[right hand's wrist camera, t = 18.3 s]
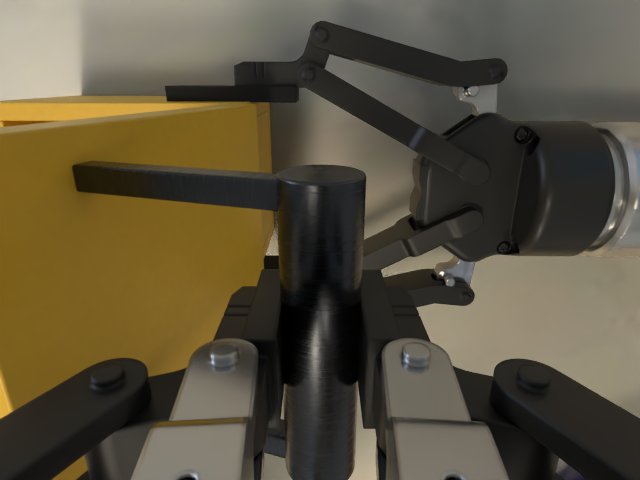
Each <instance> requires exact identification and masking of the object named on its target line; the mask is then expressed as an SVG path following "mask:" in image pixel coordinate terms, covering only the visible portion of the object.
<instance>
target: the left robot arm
mask: <svg viewBox="0 0 640 480" xmlns="http://www.w3.org/2000/svg"><path fill="white" fill-rule="evenodd" d="M329 54H331V55H335V56H338V57H342V58H345V59H349V60H352V61H355V62H359V63H362V64H366V65H369V66H373V67H376V68H380V69H383V70H386V71H390V72H393V73H397V74H400V75H404V76H407V77H411V78H414V79H417V80H421V81H424V82H428V83H431V84H436V85H440V86H453V95H454V97H455V98H456V99H457V100H458V101H462V102H466V103H468V104H469V105H470V106H471V108H472V114H471V115H469V116H468V117H466V118H465V119H463V120H462V121H460V122H459V123H458V124H456V125H455V126H453V127H452V128H450V129H449V130H447V131H446V132H444V133H443V134H441V135H440V136H437V135H436V134H434V133H432V132H431V131H429V130H427V129H425V128H424V127H422V126H420V125H418V124H417V123H415V122H413V121H412V120H410V119H408V118H407V117H405V116H403V115H401V114H400V113H398V112H396V111H395V110H393V109H391V108H390V107H388V106H386V105H384V104H383V103H381V102H379V101H378V100H376V99H374V98H373V97H371V96H369V95H367V94H366V93H364V92H362V91H361V90H359V89H357V88H356V87H354V86H352V85H350V84H349V83H347V82H345V81H344V80H342V79H340V78H339V77H337V76H335V75H333V74H332V73H330V72H328V71H327V70H325V66H326V63H327V60H328V57H329ZM507 71H508V70H507V65H506V63H505V61H503V60H502V59H497V58H494V59H483V60H473V61H462V62H461V61H457V60H454V59H451V58H447V57H444V56H441V55H437V54H434V53H430V52H427V51H424V50H420V49H417V48H414V47H410V46H407V45H403V44H400V43H397V42H393V41H390V40H386V39H383V38H380V37H376V36H373V35H370V34H366V33H363V32H359V31H356V30H353V29H349V28H346V27H343V26H339V25H336V24H332V23H329V22H326V21H320V22H317V23H315V24H314V25H313V26H312V29H311V31H310V36H309V39H308V42H307V45H306V48H305V51H304V53H303V55H302V56H301V57H300V58H299V59H298V60H296V61H294V62H242V63H240V64H237V65H235V66H234V76H235V86H204V85H180V86H165V90H166V99H167V101H174V102H288V103H296V102H297V101H298V100H299V87H305V88H307V89H309V90H311V91H312V92H314V93H316V94H318V95H319V96H321V97H323V98H325V99H326V100H328V101H330V102H331V103H333V104H335V105H337V106H338V107H340V108H342V109H344V110H345V111H347V112H349V113H351V114H352V115H354V116H356V117H358V118H359V119H361V120H363V121H364V122H366V123H368V124H370V125H371V126H373V127H375V128H377V129H378V130H380V131H382V132H384V133H385V134H387V135H389V136H391V137H392V138H394V139H396V140H397V141H399V142H401V143H403V144H404V145H406V146H408V147H409V148H411V149H413V150H414V151H416V152H418V155H417V158H416V159H413V170H412V172H413V178H414V183H415V186H414V189H413V192H412V195H411V198H410V209H409V210H410V212H411V214H410V215H408V216H406V217H404V218H402V219H400V220H398V221H397V222H396V224H395V225H394V226H392V227H390V228H388V229H386V230H384V231H382V232H380V233H378V234H375V235H373V236H371V237H369V238H367V239H365V240H364V242H363V267H362V269H380V270H381V269H383V268H385V267H387V266H390V265H392V264H394V263H396V262H398V261H400V260H402V259H404V258H406V257H410V256H412V257H416V256H419V255H422V254H424V253H426V252H428V251H430V250H432V249H434V248H437V247H439V246H442V247H444V248H445V249H447V250H448V251H449V252H451V253H452V254H453V255H454V257H453V258H452V259H451V260H450V261H448V262H444V263H438V264H437V265H436V267H435V269H421V270H416V271H411V272H407V273H402V274H398V275H393V276H389V277H385V278H383V279H384V282H385V285H386V286H400V287H401V288H402V289H404V290H405V291H406V292H408V293H409V294H410V295H411V297H412V299H413V301H414V304H415V307H420V306H424V305H429V304H433V303H438V304H449V305H460V306H465V305H468V304H470V303H471V302H472V301H473V300H474V297H475V294H474V292H473V290H472V289H471V287H470V282H471V277H472V273H473V269H474V265H475V262H477V261H480V260H482V259H484V258H486V257H489V256H492V255H498V254H501V255H512V256H574V255H578V254H581V255H584V256H588V257H640V122H596V123H593V124H588V123H585V122H579V121H509V120H507V119H505V118H504V117H502V116H501V115H499V114H497V95H498V83H500V82H501V81H503V80H504V78H505V77H506V75H507ZM264 269H279V256H265V258H264Z"/></svg>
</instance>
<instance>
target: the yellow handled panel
mask: <svg viewBox="0 0 640 480" xmlns="http://www.w3.org/2000/svg"><path fill="white" fill-rule="evenodd" d="M365 192H366V175H365V173H364V172H363V171H361V170H358V169H355V168H351V167H346V166H337V165H304V166H296V167H290V168H287V169H284V170H281V171H279V172H278V173H277V174H276V173H261V172H259V153H258V132H257V111H256V105H255V104H224V105H214V106H204V107H194V108H184V109H175V110H165V111H155V112H145V113H135V114H126V115H116V116H106V117H96V118H86V119H77V120H67V121H57V122H47V123H37V124H28V125H18V126H8V127H0V419H1V418H2V417H4V416H6V415H8V414H9V413H11V412H13V411H14V410H16V409H18V408H19V407H21V406H23V405H25V404H26V403H28V402H30V401H31V400H33V399H35V398H37V397H38V396H40V395H42V394H43V393H45V392H47V391H49V390H50V389H52V388H54V387H55V386H57V385H59V384H61V383H62V382H64V381H66V380H67V379H69V378H71V377H73V376H74V375H76V374H78V373H79V372H81V371H83V370H84V369H86V368H88V367H90V366H92V365H94V364H97V363H99V362H102V361H105V360H109V359H115V358H133V359H137V360H139V361H141V362H143V363H144V364H145V365H146V367H147V370H148V376H149V377H150V376H155V375H160V374H165V373H170V372H174V371H178V370H181V369H184V368H186V367H187V366H188V363H189V360H190V357H191V355H192V354H193V353H194V351H195V350H197V349H198V348H199V347H201V346H202V345H204V344H206V343H208V342H211V341H213V339H214V337H215V334H216V332H217V329H218V327H219V324H220V322H221V320H222V317H223V316H224V312H225V310H226V307H227V305H228V302H229V300H230V297H231V295H232V294H233V293H235V292H236V291H237V290H239V289H240V288H241V287H242V286H257V283H258V280H259V277H260V274H261V270H262V269H264V258H263V237H262V216H261V210H270V211H277V218H278V248H279V277H280V300H281V303H282V327H283V356H284V391H283V395H284V420H282V419H280V426H279V428H268V430H267V437H266V442H265V445H264V453H268V454H272V455H275V456H279V457H283V458H286V468H287V471H288V473H289V475H290V477H291V478H292V479H293V480H348V479H349V477H350V476H351V474H352V472H353V470H354V466H355V442H356V417H357V392H358V358H359V332H360V305H361V292H362V267H363V242H364V217H365ZM87 470H88V469H87V465H86V461H85V457H84V456H82V457H81V458H80V459H78V460H77V461H76V462H74V463H73V464H72V465H70V466H69V467H68V468H66V469H65V470H64V471H62V472H61V473H60V474H58V475H57V476H56V477H55V478H53V479H52V480H76V479H77V478H78V477H80V476H81V475H82V474H83V473H85V472H86V471H87Z"/></svg>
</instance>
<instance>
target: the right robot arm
mask: <svg viewBox="0 0 640 480" xmlns="http://www.w3.org/2000/svg"><path fill="white" fill-rule="evenodd" d="M358 387H359V395H360V404H361V412H362V420H363V428H364V429H375V430H376V437H377V443H376V473H377V480H564V479H563V478H562V477H560V476H559V475H558V474H557V473H555V472H556V468H557V464H558V460H559V458H560V459H562V460H563V461H564V462H566V463H567V464H568V465H570V466H571V467H572V468H574V469H575V470H576V471H578V472H579V473H580V474H582V475H583V476H584V477H585V478H587V479H588V480H640V419H639V418H638V417H636V416H634V415H632V414H631V413H629V412H627V411H626V410H624V409H622V408H621V407H619V406H617V405H615V404H614V403H612V402H610V401H609V400H607V399H605V398H603V397H602V396H600V395H598V394H597V393H595V392H593V391H591V390H590V389H588V388H586V387H585V386H583V385H581V384H579V383H578V382H576V381H574V380H573V379H571V378H569V377H568V376H566V375H564V374H562V373H561V372H559V371H557V370H556V369H554V368H552V367H550V366H547V365H545V364H543V363H540V362H536V361H532V360H527V359H509V360H505V361H502V362H500V363H499V364H498V365H497V366H496V367H495V369H494V374H493V377H492V376H487V375H483V374H478V373H473V372H469V371H465V370H462V369H459V368H456V367H454V366H452V363H451V360H450V357H449V355H448V354H447V353H446V351H444V350H443V349H442V348H441V347H439V346H438V345H436V344H434V343H432V342H430V340H429V337H428V335H427V332H426V330H425V328H424V325H423V323H422V320H421V318H420V316H419V313H418V311H417V309H416V308H415V304H414V301H413V299H412V297H411V295H410V294H409V293H408V292H406V291H405V290H404V289H402V288H401V287H400V286H386V285H385V282H384V279H383V276H382V273H381V270H380V269H362V292H361V305H360V332H359V358H358ZM283 391H284V356H283V327H282V303H281V300H280V277H279V269H262V270H261V274H260V277H259V280H258V283H257V286H242V287H241V288H240V289H239V290H237V291H236V292H235V293H233V294H232V295H231V297H230V300H229V302H228V305H227V307H226V310H225V312H224V316H223V317H222V320H221V322H220V324H219V327H218V329H217V332H216V334H215V337H214V339H213V341H211V342H208V343H206V344H204V345H202V346H201V347H199V348H198V349H197V350H195V351H194V353H193V354H192V355H191V357H190V360H189V363H188V366H187V367H186V368H184V369H181V370H178V371H174V372H170V373H165V374H160V375H155V376H150V377H149V376H148V370H147V367H146V365H145V364H144V363H143V362H141V361H139V360H137V359H133V358H115V359H109V360H105V361H102V362H99V363H97V364H94V365H92V366H90V367H88V368H86V369H84V370H83V371H81V372H79V373H78V374H76V375H74V376H73V377H71V378H69V379H67V380H66V381H64V382H62V383H61V384H59V385H57V386H55V387H54V388H52V389H50V390H49V391H47V392H45V393H43V394H42V395H40V396H38V397H37V398H35V399H33V400H31V401H30V402H28V403H26V404H25V405H23V406H21V407H19V408H18V409H16V410H14V411H13V412H11V413H9V414H8V415H6V416H4V417H2V418H1V419H0V480H52V479H53V478H55V477H56V476H57V475H58V474H60V473H61V472H62V471H64V470H65V469H66V468H68V467H69V466H70V465H72V464H73V463H74V462H76V461H77V460H78V459H80V458H81V457H82V456H84V457H85V461H86V465H87V469H88V470H87V471H86V472H85V473H83V474H82V475H81V476H80V477H78V478H77V479H76V480H263V473H264V445H265V442H266V437H267V430H268V428H279V426H280V418H281V409H282V400H283Z"/></svg>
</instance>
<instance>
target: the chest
mask: <svg viewBox="0 0 640 480" xmlns="http://www.w3.org/2000/svg"><path fill="white" fill-rule="evenodd" d="M224 104H255V105H256V111H257V132H258V153H259V172H261V173H272V154H271V128H270V102H174V101H167V99H166V96H67V97H52V98H37V99H22V100H7V101H0V127H8V126H18V125H28V124H37V123H47V122H57V121H67V120H77V119H86V118H96V117H106V116H116V115H126V114H135V113H145V112H155V111H165V110H175V109H184V108H194V107H204V106H214V105H224ZM261 216H262V237H263V258H265V255H266V252H267V249H268V246H269V243H270V240H271V237H272V234H273V231H274V211H270V210H261Z"/></svg>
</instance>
